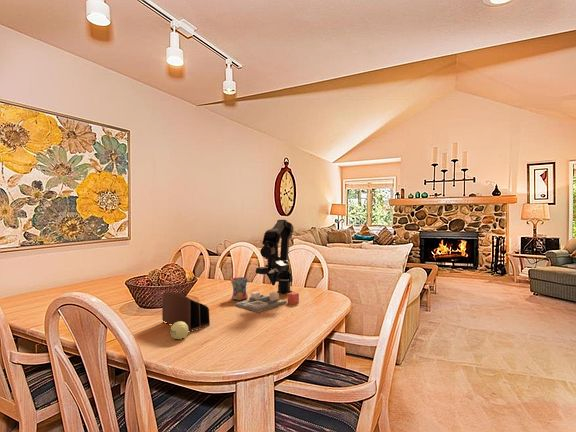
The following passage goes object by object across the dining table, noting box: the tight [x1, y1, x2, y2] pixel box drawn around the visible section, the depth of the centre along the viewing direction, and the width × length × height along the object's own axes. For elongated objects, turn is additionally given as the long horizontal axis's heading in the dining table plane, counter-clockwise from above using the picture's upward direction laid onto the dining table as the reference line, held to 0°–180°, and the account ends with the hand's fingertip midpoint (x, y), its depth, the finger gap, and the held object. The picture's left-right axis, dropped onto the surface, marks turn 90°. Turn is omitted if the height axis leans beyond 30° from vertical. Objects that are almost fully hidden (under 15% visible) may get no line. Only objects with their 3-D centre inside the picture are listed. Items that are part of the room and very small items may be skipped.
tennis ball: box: [169, 321, 189, 340], centre depth 125 cm, size 6×7×7 cm
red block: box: [286, 291, 300, 306], centre depth 168 cm, size 4×4×5 cm
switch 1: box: [250, 291, 261, 301], centre depth 171 cm, size 3×4×4 cm
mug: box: [230, 276, 249, 301], centre depth 180 cm, size 12×9×11 cm
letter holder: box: [161, 291, 211, 332], centre depth 140 cm, size 10×20×14 cm, turn 51°
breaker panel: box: [235, 294, 288, 313], centre depth 167 cm, size 19×17×3 cm
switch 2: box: [268, 291, 280, 301], centre depth 169 cm, size 3×4×4 cm
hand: (273, 285), depth 173 cm, fingers closed
